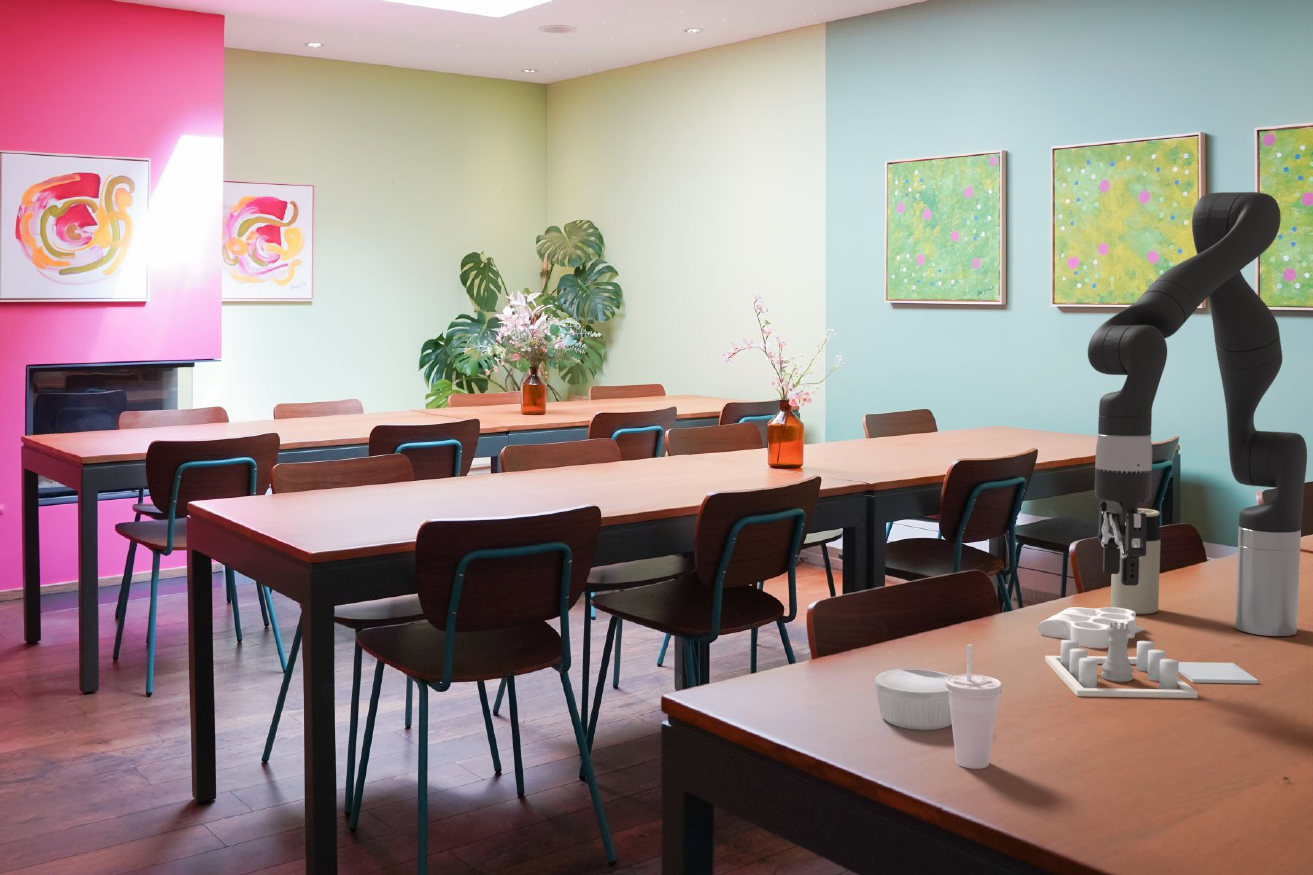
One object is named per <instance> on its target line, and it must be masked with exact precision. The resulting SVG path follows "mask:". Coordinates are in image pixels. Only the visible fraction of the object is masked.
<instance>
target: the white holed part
mask: <svg viewBox="0 0 1313 875" xmlns="http://www.w3.org/2000/svg"><path fill="white" fill-rule="evenodd" d="M1136 618H1137V616H1136V613H1135V612H1134V611H1132V610H1129V609H1124V608H1114V607H1111V606H1110V607H1098V608H1088V607H1082V606H1081V607H1080V606H1075V607H1067V608H1066V609H1064V610H1061V611H1060V612H1058V613H1056V614H1054V615H1052V616H1050V617H1049V618H1047V619H1045V620H1043V621H1041V622H1038V625H1037V630H1038V632H1039V633H1041V634H1042V635H1043V636H1045V637H1051V638H1059V639H1063V640H1074V641H1077V642H1078V647H1083V648H1087V649H1107V648H1108V649H1109V642H1108V639H1109V638H1110V635H1109V633H1108V632H1107V631H1106V629H1107V628H1108V627H1109V623H1113V625H1114V622H1117V625H1120V623H1124V625H1125V624H1128V629H1129V630H1130V633H1129V635H1128V636H1127V640H1128V641H1129V640H1130V639H1135V636H1136V634H1138V633H1140V632H1143V631H1146V630H1147V629H1145V628H1144V627H1142V626H1140V625H1138V624H1136V622H1137V621H1136V620H1137V619H1136Z"/></svg>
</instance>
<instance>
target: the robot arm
mask: <svg viewBox="0 0 1313 875" xmlns="http://www.w3.org/2000/svg"><path fill="white" fill-rule="evenodd" d="M1281 218H1282V217H1281V210H1280V206H1279V204H1278V202H1277V200H1276V198H1275V197H1274V196H1272V195H1270V194H1269V193H1264V192H1263V193H1262V192H1259V191H1258V192H1256V191H1244V192H1242V191H1240V192H1239V191H1238V192H1237V191H1236V192H1234V191H1233V192H1231V191H1229V192H1227V191H1225V192H1224V191H1223V192H1222V191H1221V192H1209V193H1206V194H1203V195H1202V196H1201V197H1199V199H1198V200H1197V201H1196V203H1195V205H1194V208H1193V212H1192V220H1191V231H1192V237H1193V244H1194V247H1195V248H1194V249H1195V251H1196V255H1193V256H1192V257H1190V258H1187V259H1185V260H1184V261H1181V262H1179V263H1177V264H1175V265H1174V266H1172V267H1171V268H1169V269H1168V270H1166V271H1164V273H1162V274H1161V275H1159V276H1158V277H1157V278H1156V279H1155V280H1154V281H1153V282H1152V284H1150V286H1148V288H1147V289H1146V290H1145V292H1144V293H1142V295H1141V296H1139V298H1138V300H1137V301H1135V302H1134V303H1132V304H1130V305H1129V306H1127V307H1125V308H1124V309H1122V310H1121V311H1119V312H1118V313H1116V314H1115V315H1113V316H1111V317H1110V318H1109V319H1107V320H1106V321H1104V323H1102V324H1101V325H1100V326H1099V327H1098V328H1097V329H1096V331H1095V332H1094V333H1093V334H1092V336H1091V338H1090V340H1089V341H1088V342H1089V343H1088V346H1087V360H1088V362H1089V364H1090V365H1091V367H1092V368H1093V369H1094V370H1095V371H1097V372H1098V373H1100V374H1103V375H1109V376H1110V375H1111V376H1126V378H1125V381H1124V384H1123V386H1122V387H1121V389H1120V390H1117V391H1114V392H1113V391H1112V392H1109V393H1106V394H1103V396H1102V397H1101V398H1100V399H1099V405H1098V422H1097V424H1098V427H1097V428H1098V430H1097V440H1096V445H1095V446H1096V447H1095V448H1096V449H1095V465H1094V466H1095V469H1094V497H1095V498H1096V499H1097V500H1100V501H1099V505H1098V507H1099V510H1098V527H1097V528H1098V529H1097V530H1098V532H1097V539H1098V542H1100V544H1101V546H1102V548H1103V552H1102V554H1103V556H1102V572H1103V573H1105V574H1106V575H1111V574H1118V573H1119V572H1120V551H1121V556H1122V558H1121V583H1122V584H1123V585H1134V586H1135V585H1137V584H1138V582H1139V559H1141V557H1142V556H1146V553H1147V552H1146V530H1147V516H1146V513H1138V508H1139V507H1138V504H1139V503H1140V502H1143V503H1145V502H1148V501H1150V500H1151V499H1152V483H1153V482H1152V477H1153V444H1152V425H1153V424H1152V422H1153V421H1152V418H1153V417H1152V416H1153V412H1152V411H1153V404H1154V401H1155V399H1156V395H1157V393H1158V390H1159V389H1158V388H1159V386H1160V382H1161V379H1162V375H1163V373H1164V370H1165V367H1166V363H1167V359H1168V345H1167V341H1166V339H1168V338H1170V337H1171V336H1173V335H1175V334H1176V333H1177V332H1178V331H1179V330H1180V329H1181V327H1182V326H1183V325H1184V324H1185V323H1186V322H1187V320H1188V319H1189V318H1190V317H1191V316H1192V314H1194V313H1195V312H1196V310H1197V308H1198V307H1199V306H1201V305H1202V304H1203V302H1204V301H1206V299H1207V298H1208V302H1209V309H1210V316H1211V320H1212V321H1211V322H1212V325H1213V326H1212V327H1213V336H1214V337H1213V338H1214V343H1215V351H1216V356H1217V362H1218V367H1219V373H1220V379H1221V384H1222V389H1223V395H1224V403H1225V410H1226V411H1225V412H1226V424H1227V425H1226V426H1227V437H1228V454H1229V464H1230V469H1231V473H1232V475H1233V478H1234V480H1235V481H1236V482H1238V484H1241V485H1244V486H1251V487H1263V488H1274V489H1276V494H1275V497H1274V498H1272V499H1270V500H1269V501H1267V502H1264V503H1262V504H1257V505H1251V506H1248V507H1244V508H1243V509H1241V510H1240V511H1239V514H1238V531H1237V532H1238V535H1237V536H1238V537H1237V564H1236V566H1237V567H1236V570H1237V571H1236V594H1235V597H1236V598H1235V621H1234V627H1235V629H1237V631H1238V630H1239V631H1241V632H1244V633H1249V634H1251V635H1253V634H1254V635H1257V636H1258V635H1259V636H1270V637H1289V636H1293V635H1296V634H1297V632H1298V614H1299V611H1298V610H1299V592H1300V589H1299V588H1300V564H1301V537H1302V536H1301V534H1302V517H1303V510H1304V495H1305V485H1306V484H1305V482H1306V476H1307V475H1306V474H1307V464H1308V447H1307V444H1306V440H1305V438H1304V437H1303V435H1301V434H1300V433H1297V432H1291V431H1290V432H1289V431H1288V432H1286V431H1269V430H1268V431H1265V430H1257V429H1256V427H1255V422H1254V420H1255V419H1254V418H1255V413H1256V410H1257V408H1258V406H1259V403H1260V402H1261V400H1262V399H1263V397H1264V395H1265V394H1266V393H1267V391H1268V390H1269V389H1270V387H1271V386H1272V384H1273V383H1274V381H1275V379H1276V378H1277V377H1278V374H1279V372H1280V371H1281V370H1280V369H1281V367H1282V364H1283V351H1282V343H1281V342H1282V341H1281V336H1280V335H1281V334H1280V329H1279V324H1278V321H1277V320H1276V317H1275V316H1274V314H1273V313H1272V311H1271V309H1270V308H1269V307H1268V306H1267V304H1266V303H1265V301H1263V299H1262V298H1261V297H1260V296H1259V295H1258V294H1257V293H1256V291H1255V290H1254V289H1253V288H1252V287H1251V285H1250V284H1249V283H1248V281H1246V278H1245V276H1244V275H1243V273H1242V270H1243V269H1244V268H1246V267H1247V266H1248V265H1249V264H1250V263H1252V262H1253V261H1255V260H1256V259H1257V258H1258V257H1260V256H1261V255H1262V254H1264V253H1265V252H1266V250H1268V249H1269V248H1270V246H1271V245H1272V244H1273V243H1274V242H1275V240H1276V238H1277V236H1278V233H1279V230H1280V227H1281V220H1282V219H1281ZM1132 545H1133V546H1134V547H1132ZM1117 547H1120V549H1119V548H1117Z"/></svg>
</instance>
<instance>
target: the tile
mask: <svg viewBox="0 0 1313 875" xmlns="http://www.w3.org/2000/svg"><path fill="white" fill-rule="evenodd" d="M1178 662H1179V666H1178V673H1179V674H1181V675H1182V676H1183V677H1185V678H1186V679H1187V680H1189V681H1190V682H1191V683H1196V684H1253V685H1254V684H1256V685H1257V684H1259V679H1257V678H1256V677H1254V676H1252V675H1251V674H1250V673H1249V672H1247V671H1245V670H1244V669H1243V668H1242V667H1240V666H1238V665H1237V664H1235V663H1234V662H1201V661H1199V662H1197V661H1196V662H1192V661H1189V662H1188V661H1187V662H1186V661H1178Z"/></svg>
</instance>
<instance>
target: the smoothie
mask: <svg viewBox="0 0 1313 875" xmlns="http://www.w3.org/2000/svg"><path fill="white" fill-rule="evenodd" d="M972 667H973V645H972V644H970V643H969V644H967V645H966V673H962V674H955V675H952V676H951V677H949V678H947V679H946V687H945V689H946V690H947V691H948V693H949V704H950V712H951V721H952V724H951V727H952V728H951V729H952V736H953V737H952V738H953V747H954V756H955V763H956V765H958V766H960V767H962V768H965V769H973V770H974V769H975V770H978V769H979V770H980V769H981V770H982V769H984V768H985V769H986V768H987V767H989V765H990V758H991V752H992V745H993V738H994V732H995V727H996V725H995V724H996V718H997V712H998V706H999V697H1000V695H1001V694H1003V684H1002V682H1001V681H1000V680H999V679H997V678H995V677H991V676H987V675H982V674H975V673H974V674H973V672H972V671H973V668H972Z"/></svg>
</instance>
